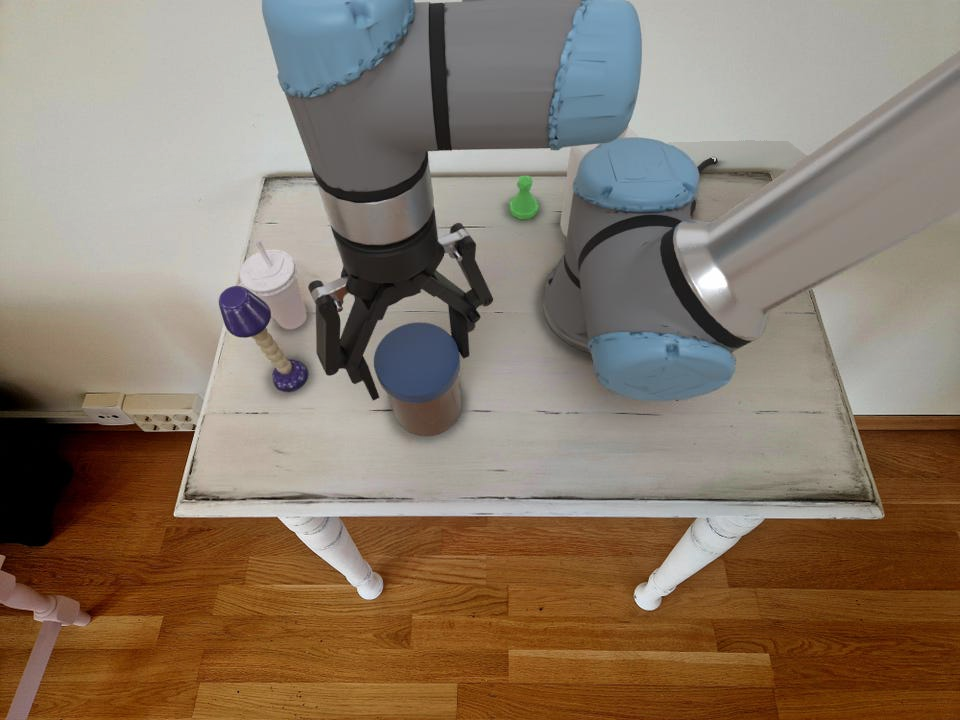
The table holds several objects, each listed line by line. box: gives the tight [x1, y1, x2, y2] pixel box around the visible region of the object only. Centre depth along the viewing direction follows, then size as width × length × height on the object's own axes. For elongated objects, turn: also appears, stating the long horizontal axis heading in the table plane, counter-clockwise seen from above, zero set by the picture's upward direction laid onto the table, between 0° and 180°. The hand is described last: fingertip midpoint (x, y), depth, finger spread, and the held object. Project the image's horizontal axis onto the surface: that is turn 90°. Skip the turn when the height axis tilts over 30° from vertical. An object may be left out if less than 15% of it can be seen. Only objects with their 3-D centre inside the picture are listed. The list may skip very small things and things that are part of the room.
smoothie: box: [239, 238, 308, 330], centre depth 68 cm, size 6×6×14 cm
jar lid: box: [373, 321, 461, 403], centre depth 59 cm, size 9×9×2 cm
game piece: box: [509, 175, 539, 220], centre depth 81 cm, size 4×4×6 cm
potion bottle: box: [559, 125, 639, 238], centre depth 73 cm, size 8×8×18 cm
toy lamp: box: [218, 285, 309, 393], centre depth 62 cm, size 5×5×17 cm
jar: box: [385, 376, 462, 437], centre depth 63 cm, size 8×8×10 cm
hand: (416, 368), depth 60 cm, fingers open, 10 cm apart
